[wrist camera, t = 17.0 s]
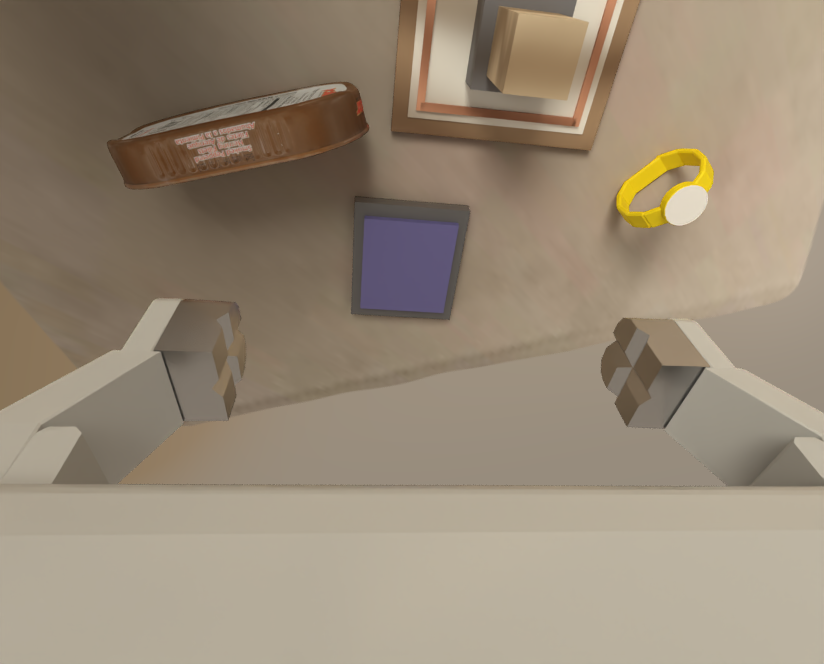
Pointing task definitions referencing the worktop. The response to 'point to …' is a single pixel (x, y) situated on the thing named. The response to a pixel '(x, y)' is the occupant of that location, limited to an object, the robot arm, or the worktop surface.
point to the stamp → (525, 47)
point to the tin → (240, 136)
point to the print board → (493, 111)
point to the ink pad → (406, 257)
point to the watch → (679, 200)
